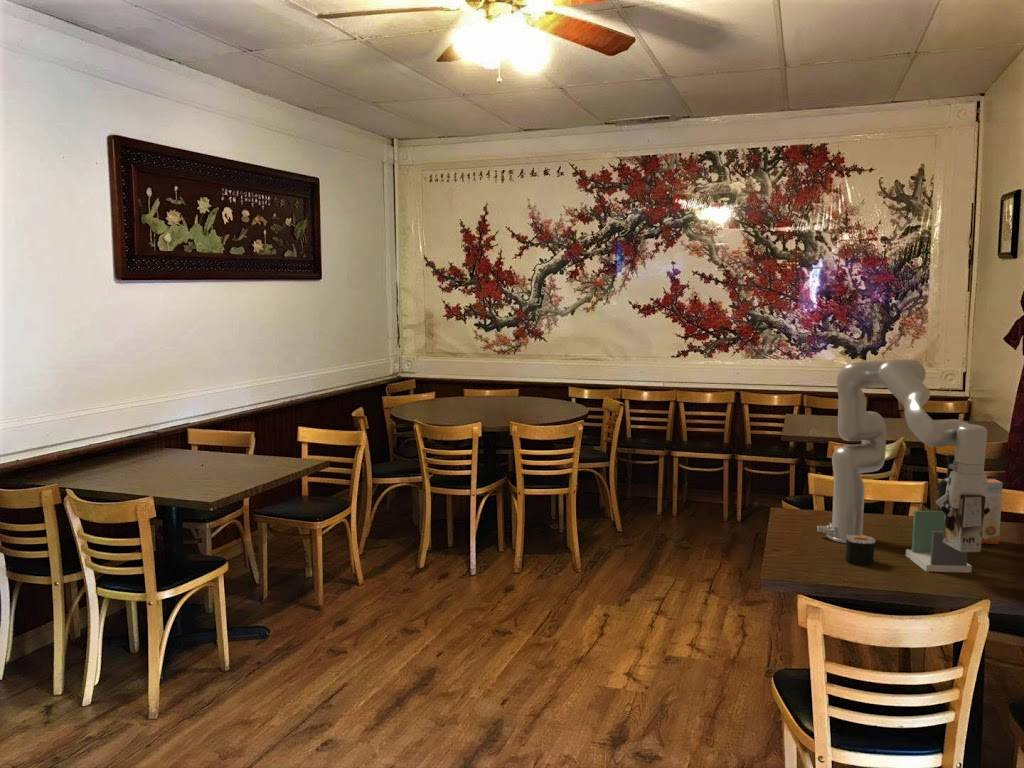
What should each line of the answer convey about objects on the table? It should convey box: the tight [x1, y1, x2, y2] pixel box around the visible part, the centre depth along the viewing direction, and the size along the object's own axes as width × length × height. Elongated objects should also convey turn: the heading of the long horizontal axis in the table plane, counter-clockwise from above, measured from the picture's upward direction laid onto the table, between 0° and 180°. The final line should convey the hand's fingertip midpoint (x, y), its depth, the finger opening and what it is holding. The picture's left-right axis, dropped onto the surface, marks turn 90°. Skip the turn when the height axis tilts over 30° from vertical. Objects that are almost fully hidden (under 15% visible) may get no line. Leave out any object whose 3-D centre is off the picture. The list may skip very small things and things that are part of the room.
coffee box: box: [943, 495, 985, 553], centre depth 240 cm, size 9×6×16 cm
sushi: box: [845, 534, 876, 567], centre depth 258 cm, size 8×8×8 cm
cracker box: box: [981, 478, 1003, 545], centre depth 278 cm, size 14×6×21 cm, turn 84°
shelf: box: [905, 509, 973, 574], centre depth 256 cm, size 13×15×15 cm
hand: (962, 529), depth 240 cm, fingers closed on coffee box, 6 cm apart
